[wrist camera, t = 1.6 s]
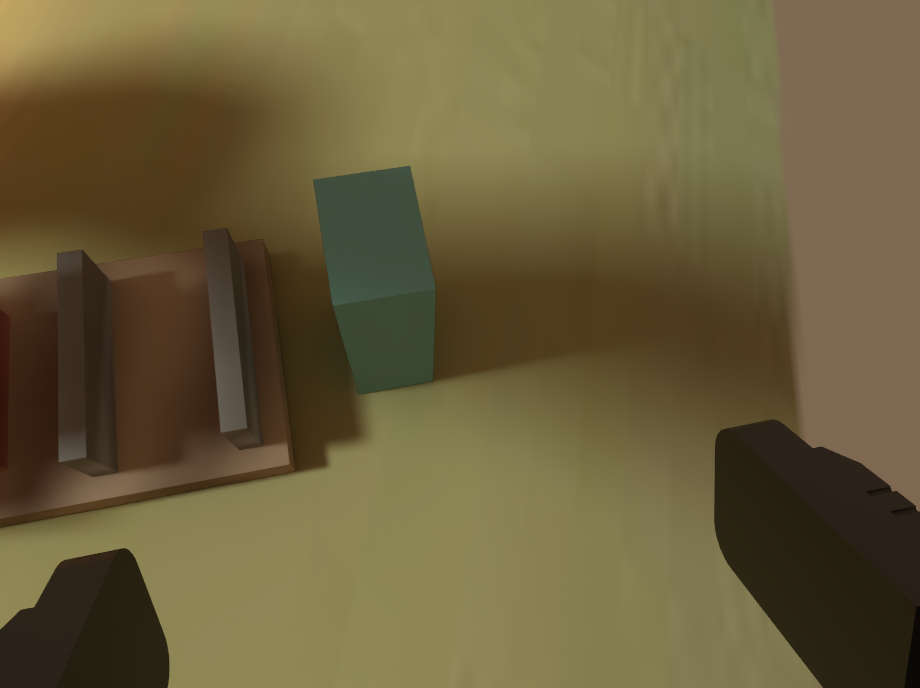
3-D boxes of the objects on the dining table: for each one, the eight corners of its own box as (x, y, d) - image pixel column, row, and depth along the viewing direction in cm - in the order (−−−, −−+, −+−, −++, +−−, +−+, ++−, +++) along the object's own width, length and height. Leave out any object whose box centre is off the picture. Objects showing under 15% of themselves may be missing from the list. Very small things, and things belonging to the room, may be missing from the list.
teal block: (358, 394, 33) (332, 305, 24) (343, 297, 35) (313, 179, 26) (433, 381, 34) (436, 288, 24) (414, 286, 35) (410, 165, 26)
